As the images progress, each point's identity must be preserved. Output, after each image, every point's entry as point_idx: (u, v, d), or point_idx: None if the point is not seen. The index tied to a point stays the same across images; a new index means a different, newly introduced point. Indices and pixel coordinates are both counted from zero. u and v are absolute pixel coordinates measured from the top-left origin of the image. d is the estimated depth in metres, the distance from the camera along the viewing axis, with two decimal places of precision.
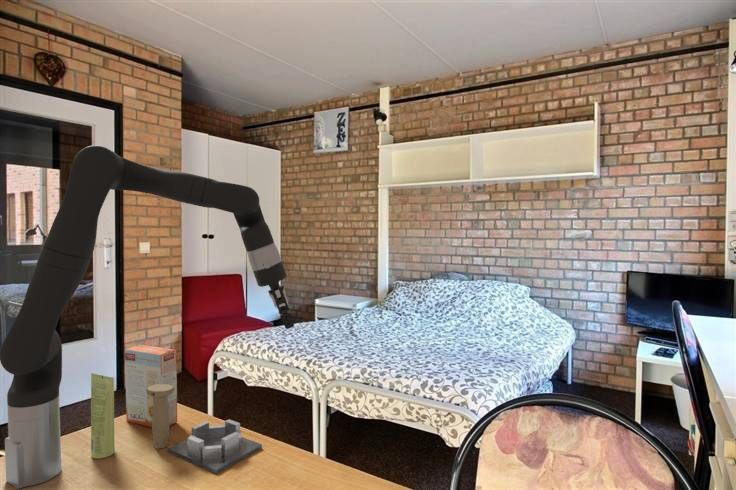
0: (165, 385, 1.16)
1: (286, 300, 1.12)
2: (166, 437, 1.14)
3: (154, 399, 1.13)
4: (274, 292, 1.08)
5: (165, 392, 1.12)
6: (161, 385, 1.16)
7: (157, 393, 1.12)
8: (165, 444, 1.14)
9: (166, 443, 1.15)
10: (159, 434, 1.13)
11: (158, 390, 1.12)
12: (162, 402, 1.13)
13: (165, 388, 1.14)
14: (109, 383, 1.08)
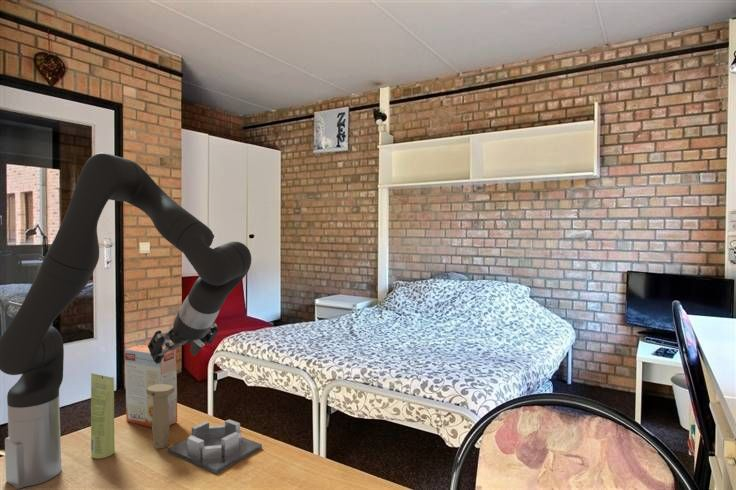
0: (165, 385, 1.16)
1: (169, 348, 0.99)
2: (166, 437, 1.14)
3: (154, 399, 1.13)
4: (156, 334, 0.96)
5: (165, 392, 1.12)
6: (161, 385, 1.16)
7: (157, 393, 1.12)
8: (165, 444, 1.14)
9: (166, 443, 1.15)
10: (159, 434, 1.13)
11: (158, 390, 1.12)
12: (162, 402, 1.13)
13: (165, 388, 1.14)
14: (109, 383, 1.08)
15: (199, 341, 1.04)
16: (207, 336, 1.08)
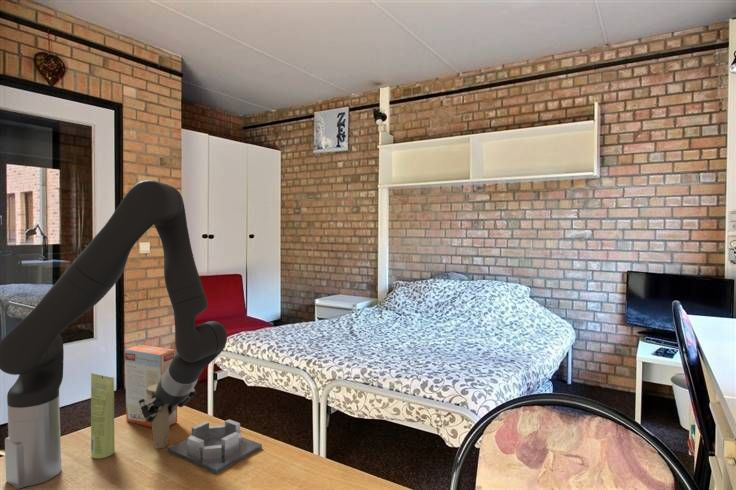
0: None
1: (156, 411, 1.10)
2: (166, 437, 1.14)
3: None
4: (139, 403, 1.07)
5: None
6: None
7: None
8: (165, 444, 1.14)
9: (166, 443, 1.15)
10: (159, 434, 1.13)
11: None
12: None
13: None
14: (109, 383, 1.08)
15: (177, 404, 1.13)
16: None
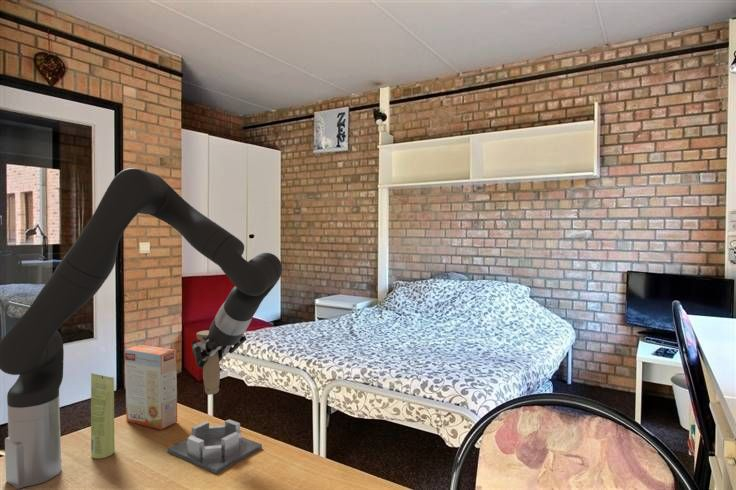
0: None
1: (208, 354, 1.07)
2: (217, 383, 1.11)
3: None
4: (192, 344, 1.04)
5: None
6: None
7: None
8: (216, 390, 1.12)
9: (217, 389, 1.12)
10: (210, 380, 1.10)
11: None
12: None
13: None
14: (109, 383, 1.08)
15: (228, 348, 1.10)
16: None
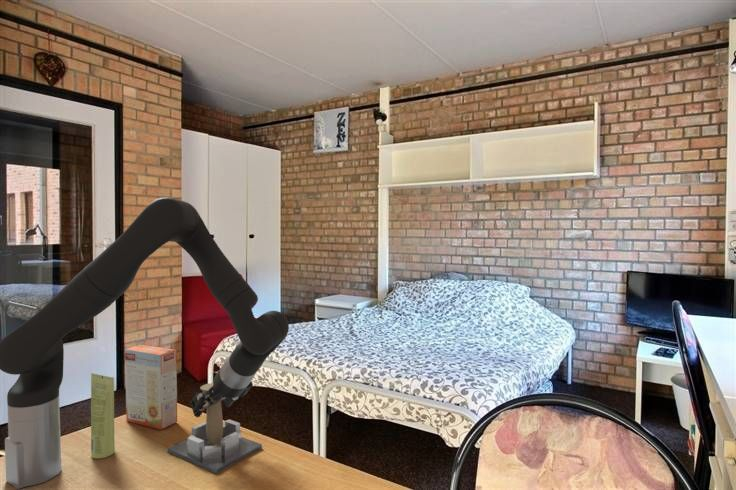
0: None
1: (209, 404, 1.07)
2: (220, 437, 1.12)
3: None
4: (198, 393, 1.04)
5: None
6: None
7: None
8: (219, 444, 1.12)
9: (220, 443, 1.12)
10: (213, 434, 1.11)
11: None
12: None
13: None
14: (109, 383, 1.08)
15: None
16: None
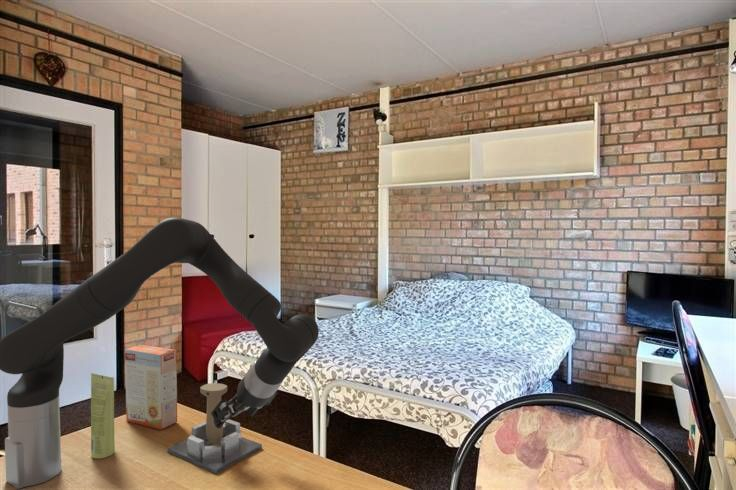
0: (218, 384, 1.14)
1: (231, 415, 1.00)
2: (220, 437, 1.12)
3: (208, 399, 1.11)
4: (221, 402, 0.97)
5: (219, 392, 1.10)
6: (214, 384, 1.13)
7: (212, 393, 1.09)
8: (219, 444, 1.12)
9: (220, 443, 1.12)
10: (213, 434, 1.11)
11: (212, 389, 1.10)
12: (216, 402, 1.11)
13: (219, 387, 1.12)
14: (109, 383, 1.08)
15: None
16: None
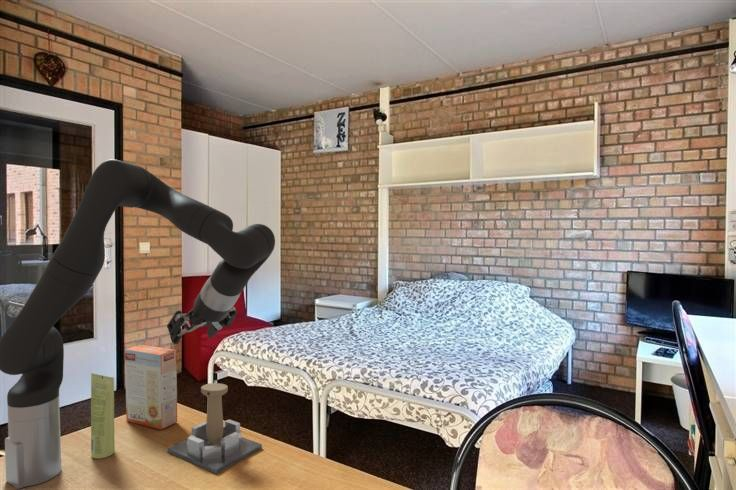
0: (218, 384, 1.14)
1: (187, 329, 0.99)
2: (220, 437, 1.12)
3: (209, 398, 1.11)
4: (177, 314, 0.96)
5: (220, 392, 1.10)
6: (215, 384, 1.14)
7: (212, 393, 1.09)
8: (219, 444, 1.12)
9: (220, 443, 1.12)
10: (213, 434, 1.11)
11: (213, 389, 1.10)
12: (217, 402, 1.11)
13: (220, 387, 1.12)
14: (109, 383, 1.08)
15: (217, 324, 1.04)
16: (225, 319, 1.08)
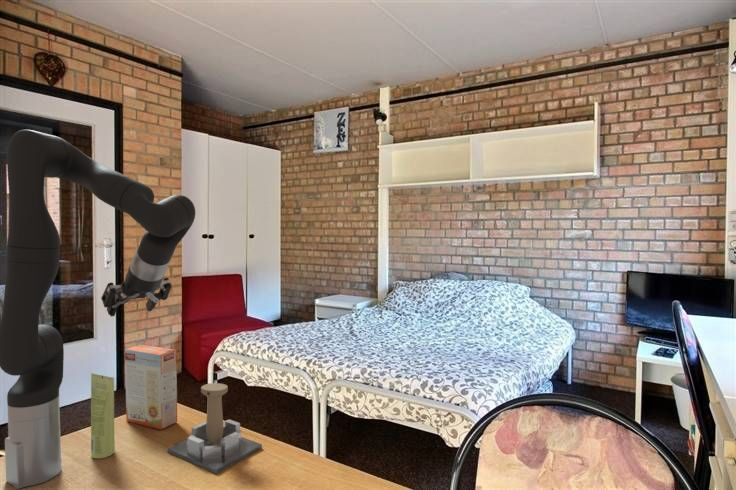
0: (218, 384, 1.14)
1: (121, 300, 1.05)
2: (220, 437, 1.12)
3: (209, 398, 1.11)
4: (108, 285, 1.02)
5: (220, 392, 1.10)
6: (215, 384, 1.14)
7: (213, 393, 1.09)
8: (219, 444, 1.12)
9: (220, 443, 1.12)
10: (213, 434, 1.11)
11: (213, 389, 1.10)
12: (217, 402, 1.11)
13: (220, 387, 1.12)
14: (109, 383, 1.08)
15: (152, 296, 1.09)
16: (162, 293, 1.13)
